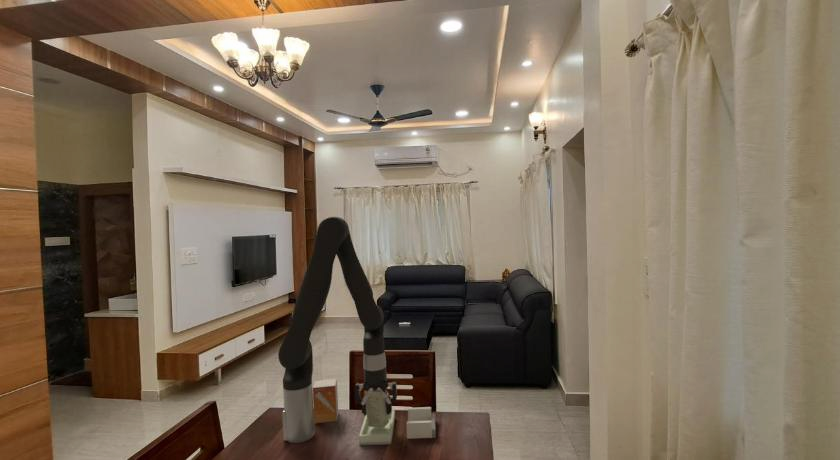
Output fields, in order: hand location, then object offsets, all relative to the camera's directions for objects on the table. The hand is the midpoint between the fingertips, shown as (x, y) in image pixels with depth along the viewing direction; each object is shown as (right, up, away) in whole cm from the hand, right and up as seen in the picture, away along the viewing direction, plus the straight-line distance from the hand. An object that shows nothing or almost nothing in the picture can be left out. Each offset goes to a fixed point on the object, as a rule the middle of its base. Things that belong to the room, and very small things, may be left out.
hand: (377, 413), depth 131 cm
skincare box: (0, -4, 0) cm, 4 cm away
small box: (-19, -7, +10) cm, 23 cm away
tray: (0, -6, 0) cm, 6 cm away
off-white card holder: (+14, -5, 0) cm, 15 cm away
